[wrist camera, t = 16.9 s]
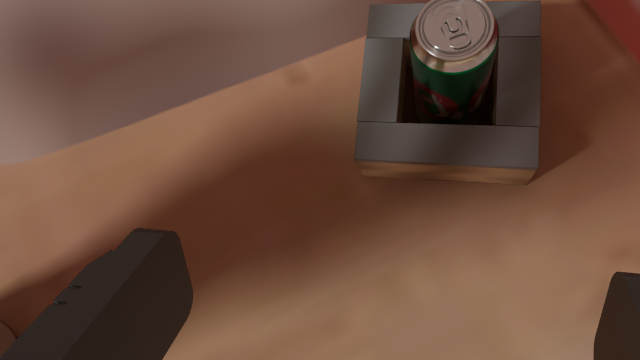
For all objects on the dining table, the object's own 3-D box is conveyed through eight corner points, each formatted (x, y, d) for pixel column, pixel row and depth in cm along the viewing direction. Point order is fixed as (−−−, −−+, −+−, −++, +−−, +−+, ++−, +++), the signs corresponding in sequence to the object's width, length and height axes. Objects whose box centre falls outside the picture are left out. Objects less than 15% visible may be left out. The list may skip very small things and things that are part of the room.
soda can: (469, 69, 41) (482, -28, 29) (492, 125, 39) (515, 47, 28) (407, 90, 41) (396, 3, 30) (428, 146, 40) (424, 78, 28)
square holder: (362, 175, 40) (353, 158, 36) (375, 36, 43) (369, 4, 39) (527, 185, 37) (539, 167, 33) (530, 34, 40) (541, 0, 36)
